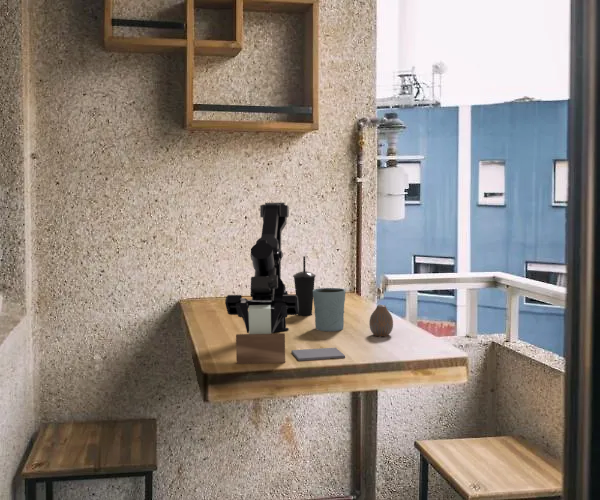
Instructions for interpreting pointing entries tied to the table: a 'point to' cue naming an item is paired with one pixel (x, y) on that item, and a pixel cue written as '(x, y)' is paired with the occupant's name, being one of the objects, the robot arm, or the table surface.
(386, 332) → the vase
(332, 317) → the blue-grey pot
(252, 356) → the walnut screen
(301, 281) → the drinking cup
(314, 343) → the table surface
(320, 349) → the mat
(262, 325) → the pale green block
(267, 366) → the table surface
